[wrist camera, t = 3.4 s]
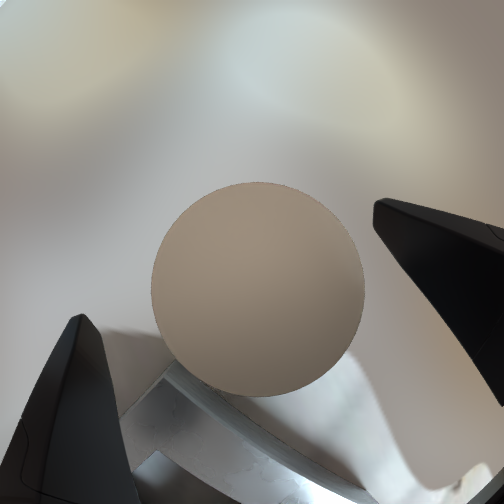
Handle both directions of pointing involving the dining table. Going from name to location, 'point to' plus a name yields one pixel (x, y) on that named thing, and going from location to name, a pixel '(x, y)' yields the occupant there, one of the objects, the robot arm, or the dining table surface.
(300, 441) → the dining table surface
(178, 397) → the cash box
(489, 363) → the robot arm
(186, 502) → the dining table surface
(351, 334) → the coin roll
